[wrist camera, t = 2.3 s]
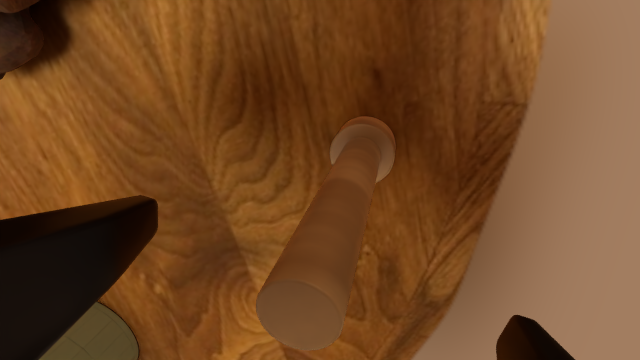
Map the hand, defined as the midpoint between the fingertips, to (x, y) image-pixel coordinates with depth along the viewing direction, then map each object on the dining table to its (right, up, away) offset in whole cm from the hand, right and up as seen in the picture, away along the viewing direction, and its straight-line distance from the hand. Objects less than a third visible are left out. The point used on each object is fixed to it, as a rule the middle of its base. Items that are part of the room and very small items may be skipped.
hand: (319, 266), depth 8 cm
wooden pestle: (+2, +4, +9) cm, 10 cm away
